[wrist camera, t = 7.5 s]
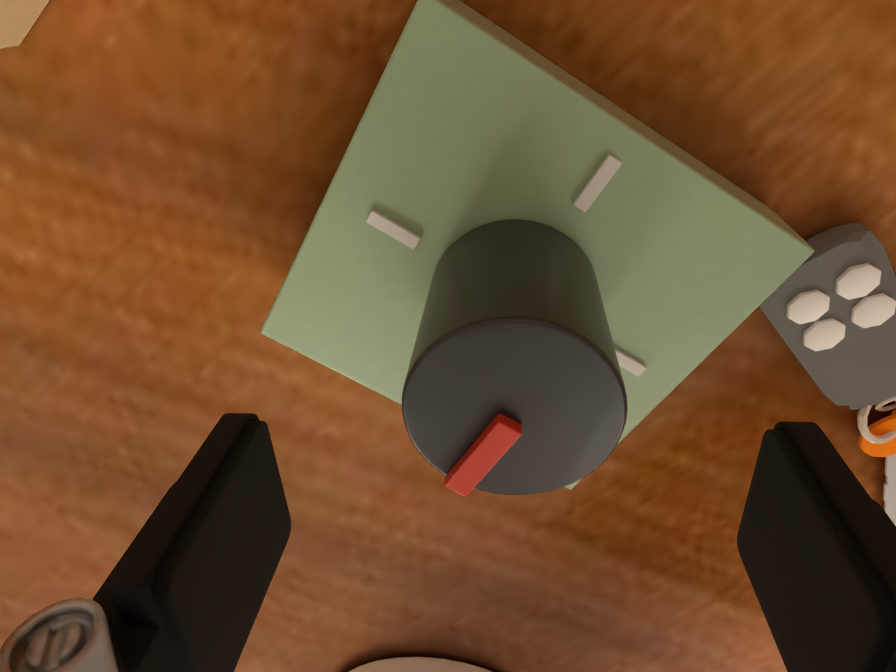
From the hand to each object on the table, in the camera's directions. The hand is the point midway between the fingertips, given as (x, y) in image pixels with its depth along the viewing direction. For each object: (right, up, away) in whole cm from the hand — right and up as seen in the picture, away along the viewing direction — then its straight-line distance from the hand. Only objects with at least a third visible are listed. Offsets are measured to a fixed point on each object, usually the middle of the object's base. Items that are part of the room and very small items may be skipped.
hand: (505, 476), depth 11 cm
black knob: (+1, +4, +4) cm, 6 cm away
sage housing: (+1, +5, +7) cm, 9 cm away
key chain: (+13, +1, +9) cm, 16 cm away
